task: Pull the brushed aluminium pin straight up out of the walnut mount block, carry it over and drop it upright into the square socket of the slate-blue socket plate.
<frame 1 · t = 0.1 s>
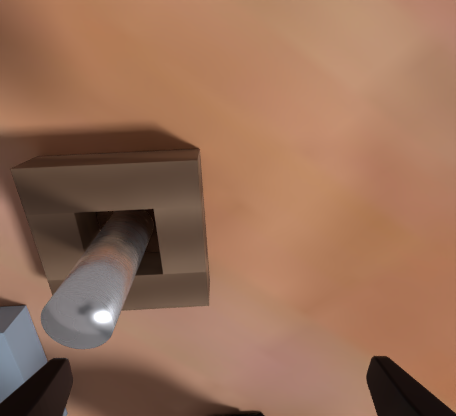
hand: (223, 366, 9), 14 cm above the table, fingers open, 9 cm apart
mount block: (132, 224, 23), on the table
pin: (111, 261, 19), in the mount block
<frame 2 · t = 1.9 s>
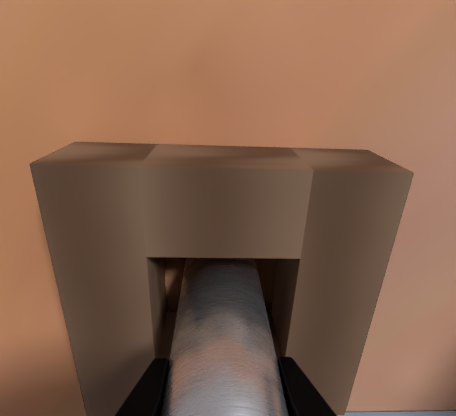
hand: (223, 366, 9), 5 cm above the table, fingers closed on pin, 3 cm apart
mount block: (220, 268, 14), on the table
pin: (223, 366, 9), in the mount block, touching gripper
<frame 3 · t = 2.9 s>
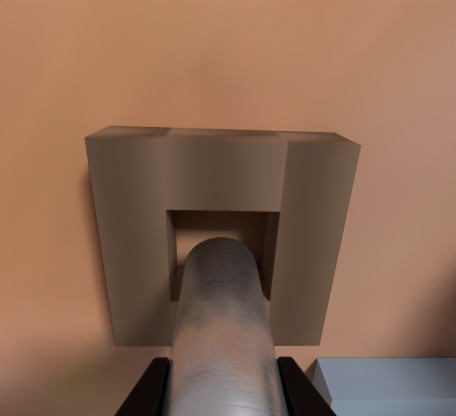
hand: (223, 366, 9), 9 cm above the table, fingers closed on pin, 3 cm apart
mount block: (220, 229, 17), on the table
pin: (223, 365, 9), point 9 cm above the table, touching gripper
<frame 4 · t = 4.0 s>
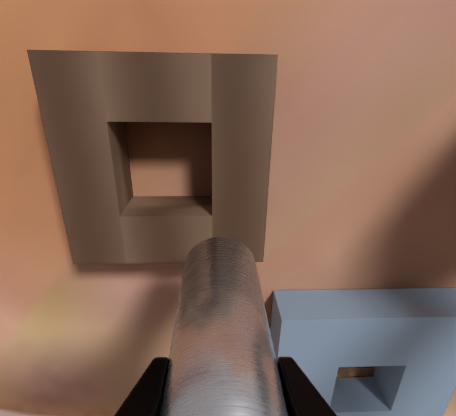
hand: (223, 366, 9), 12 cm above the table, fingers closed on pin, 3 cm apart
mount block: (170, 157, 19), on the table
socket plate: (349, 356, 26), on the table
pin: (222, 365, 9), point 12 cm above the table, touching gripper
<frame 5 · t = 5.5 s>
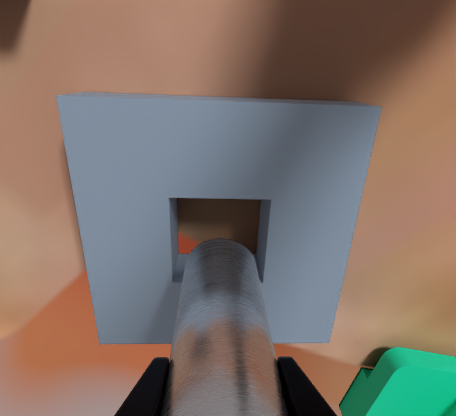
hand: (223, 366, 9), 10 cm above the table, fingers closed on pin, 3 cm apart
camera mount: (389, 390, 26), on the table
socket plate: (218, 218, 19), on the table
pin: (223, 367, 9), point 10 cm above the table, touching gripper
when the fingers open (6 cm above the table, at t = 6.5 s): pin drops 1 cm, resting in socket plate.
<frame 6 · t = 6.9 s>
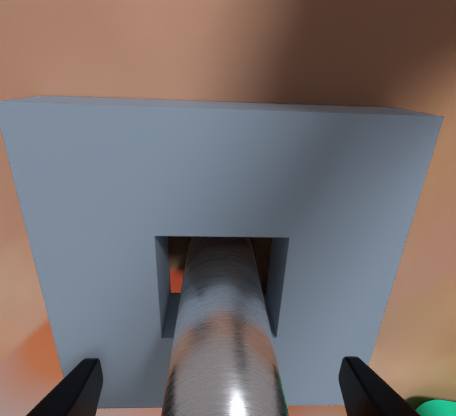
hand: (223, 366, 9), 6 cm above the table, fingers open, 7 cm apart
socket plate: (219, 251, 15), on the table
pin: (222, 329, 11), in the socket plate
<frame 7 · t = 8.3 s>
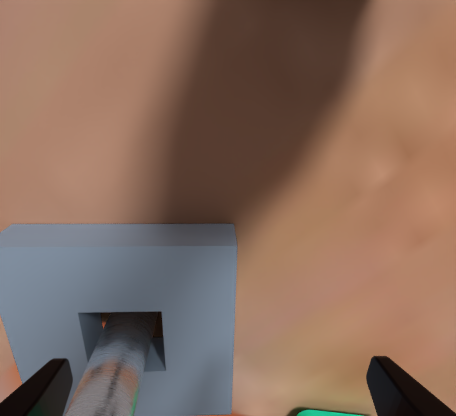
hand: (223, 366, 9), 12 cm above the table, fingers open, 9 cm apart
socket plate: (135, 311, 22), on the table
pin: (115, 370, 18), in the socket plate
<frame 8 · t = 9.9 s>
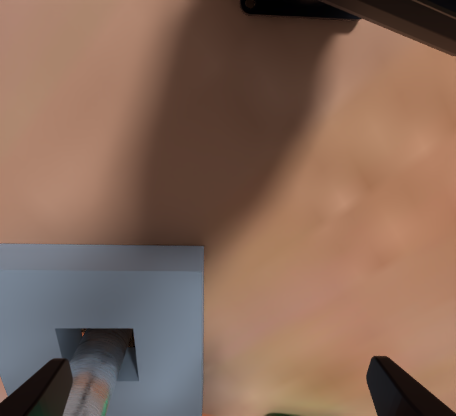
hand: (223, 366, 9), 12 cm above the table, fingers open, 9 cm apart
socket plate: (112, 323, 24), on the table
pin: (88, 383, 19), in the socket plate
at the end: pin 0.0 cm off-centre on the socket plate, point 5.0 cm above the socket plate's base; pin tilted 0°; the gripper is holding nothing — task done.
